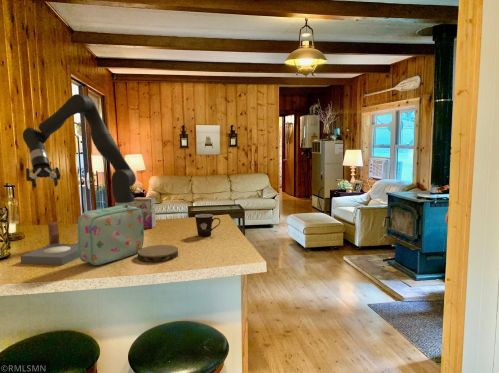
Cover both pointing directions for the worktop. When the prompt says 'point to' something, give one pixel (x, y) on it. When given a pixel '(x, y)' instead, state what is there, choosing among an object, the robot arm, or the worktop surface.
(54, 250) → the plate
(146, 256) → the wood slice
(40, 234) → the worktop surface
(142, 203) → the candy bar box
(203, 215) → the coffee mug
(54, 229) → the handle
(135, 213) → the lunch box
